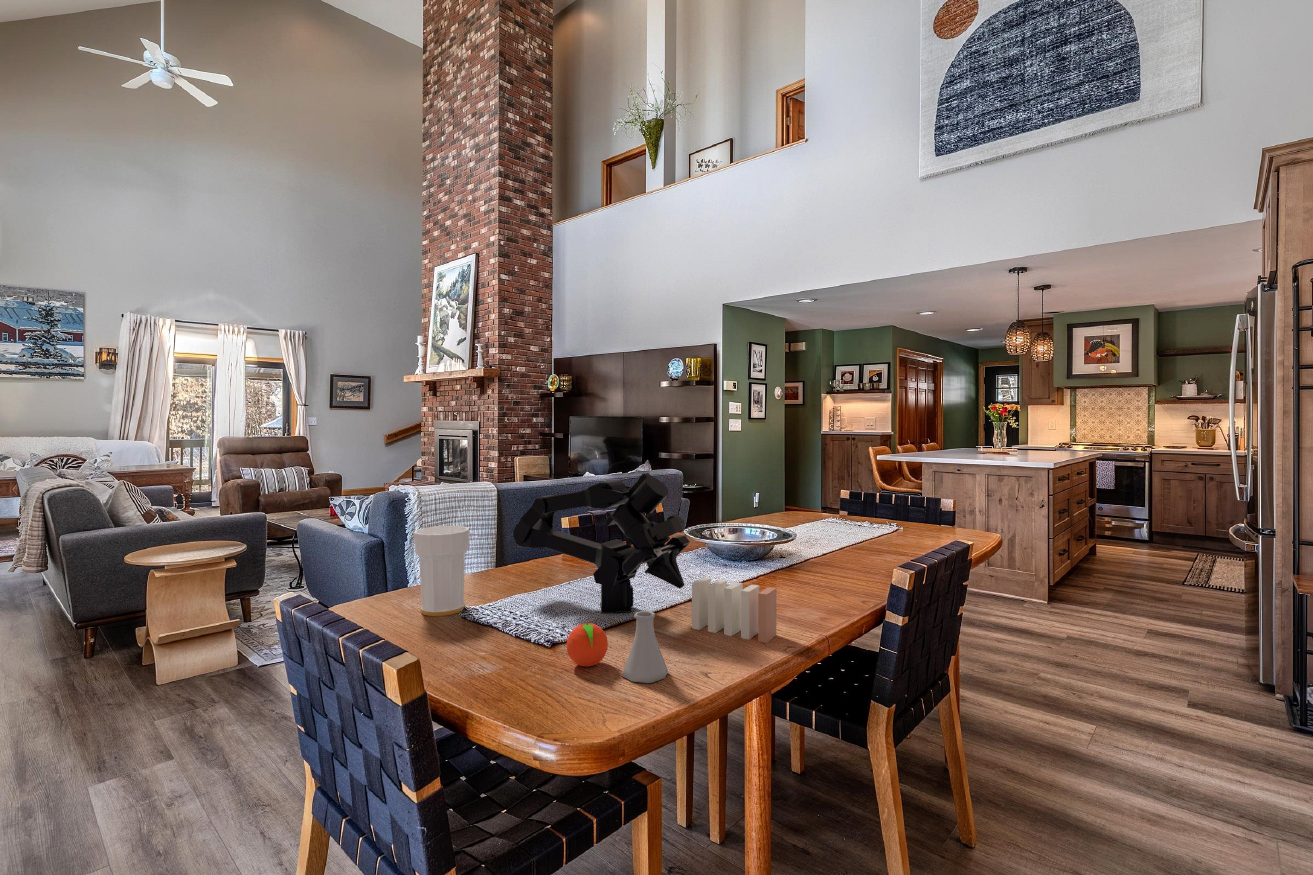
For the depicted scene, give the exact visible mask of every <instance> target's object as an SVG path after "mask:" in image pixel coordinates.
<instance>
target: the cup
mask: <svg viewBox="0 0 1313 875" xmlns="http://www.w3.org/2000/svg"><path fill="white" fill-rule="evenodd" d="M413 540H414V552H415V554H416V555H417V556H418V558H419V576H420V579H419V580H420V598H421V599H420V600H421V607H420V613H421V615H424V616H427V617H445V616H446V617H447V616H451V615H455V614H458V613H460V611H461V609H463V608H464V607H465V608H466V603H465V564H466V562H465V561H466V560H465V559H466V558H465V556H466V553H467V551H468V550H469V548H470V528H469V527H467V526H462V525H438V526H427V527H422V528H419V529H416V530H415V531H414V532H413ZM461 612H462V611H461Z"/></svg>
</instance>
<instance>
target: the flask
mask: <svg viewBox="0 0 1313 875" xmlns="http://www.w3.org/2000/svg"><path fill="white" fill-rule="evenodd" d="M655 616H656V613H655V612H653V611H650V610H641V611H636V613H634V619H635V620H636V621H635V623H636V625H635V627H636V628H635V633H634V639H633V642H632V645H631V648H630V650H629V653H628V657H627V660H626V662H625V665H624V668H623V670H622V674H621V676H622V677H623V678H625V679H626V680H627V679H628V681H631V682H633V683H634V682H635V683H643V684H645V683H646V684H652V683H655V682H658V681H660V680H665V678H666V676H667V674H668V672H669V670H668V667H667V664H666V662H665V659H664V657H663V654H662V651H661V648H660V646H659V643H658V640H657V637H656V633H655V628H654V627H655V626H654V618H655Z"/></svg>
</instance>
